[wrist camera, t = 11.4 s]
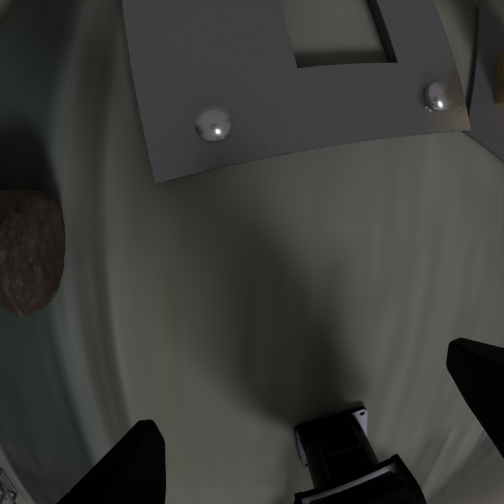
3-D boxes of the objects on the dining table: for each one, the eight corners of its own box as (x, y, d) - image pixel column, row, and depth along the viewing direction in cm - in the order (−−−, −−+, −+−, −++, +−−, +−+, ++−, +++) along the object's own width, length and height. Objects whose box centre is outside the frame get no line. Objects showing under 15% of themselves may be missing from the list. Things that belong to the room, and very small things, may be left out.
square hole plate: (461, 131, 19) (477, 130, 17) (159, 183, 19) (152, 184, 17) (398, -51, 15) (408, -61, 13) (122, -31, 14) (115, -44, 12)
